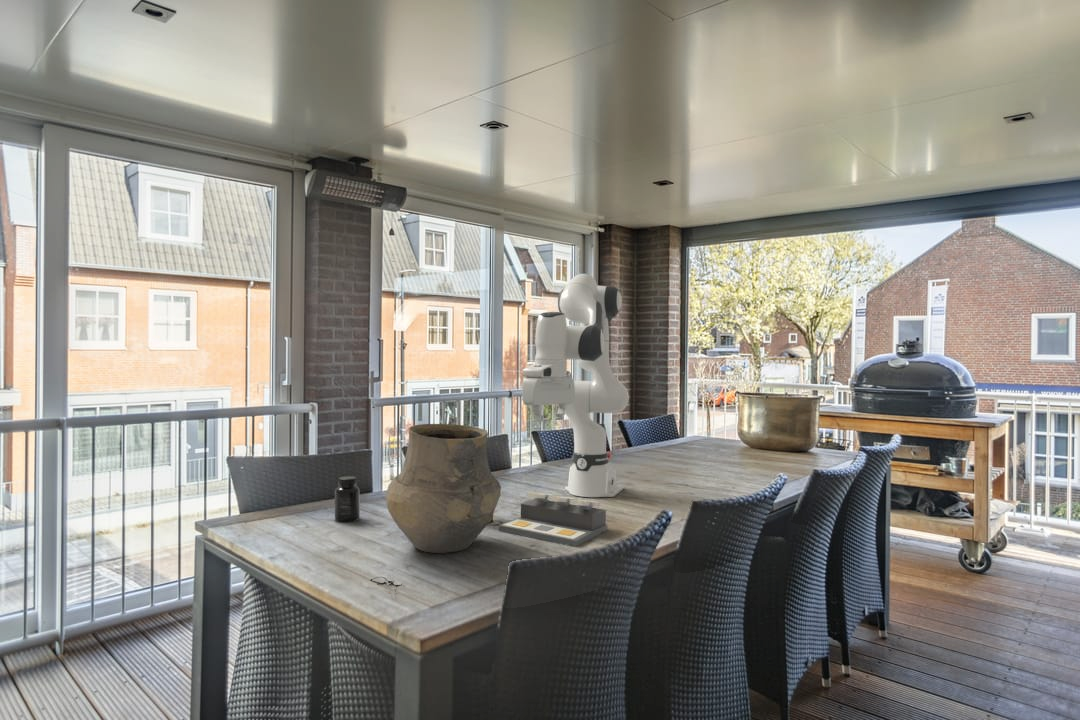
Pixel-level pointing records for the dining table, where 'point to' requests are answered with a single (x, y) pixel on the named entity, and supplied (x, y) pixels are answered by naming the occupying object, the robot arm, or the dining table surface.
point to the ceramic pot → (443, 488)
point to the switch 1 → (540, 497)
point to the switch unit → (557, 523)
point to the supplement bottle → (347, 500)
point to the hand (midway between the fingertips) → (549, 421)
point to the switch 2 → (561, 500)
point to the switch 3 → (584, 504)
